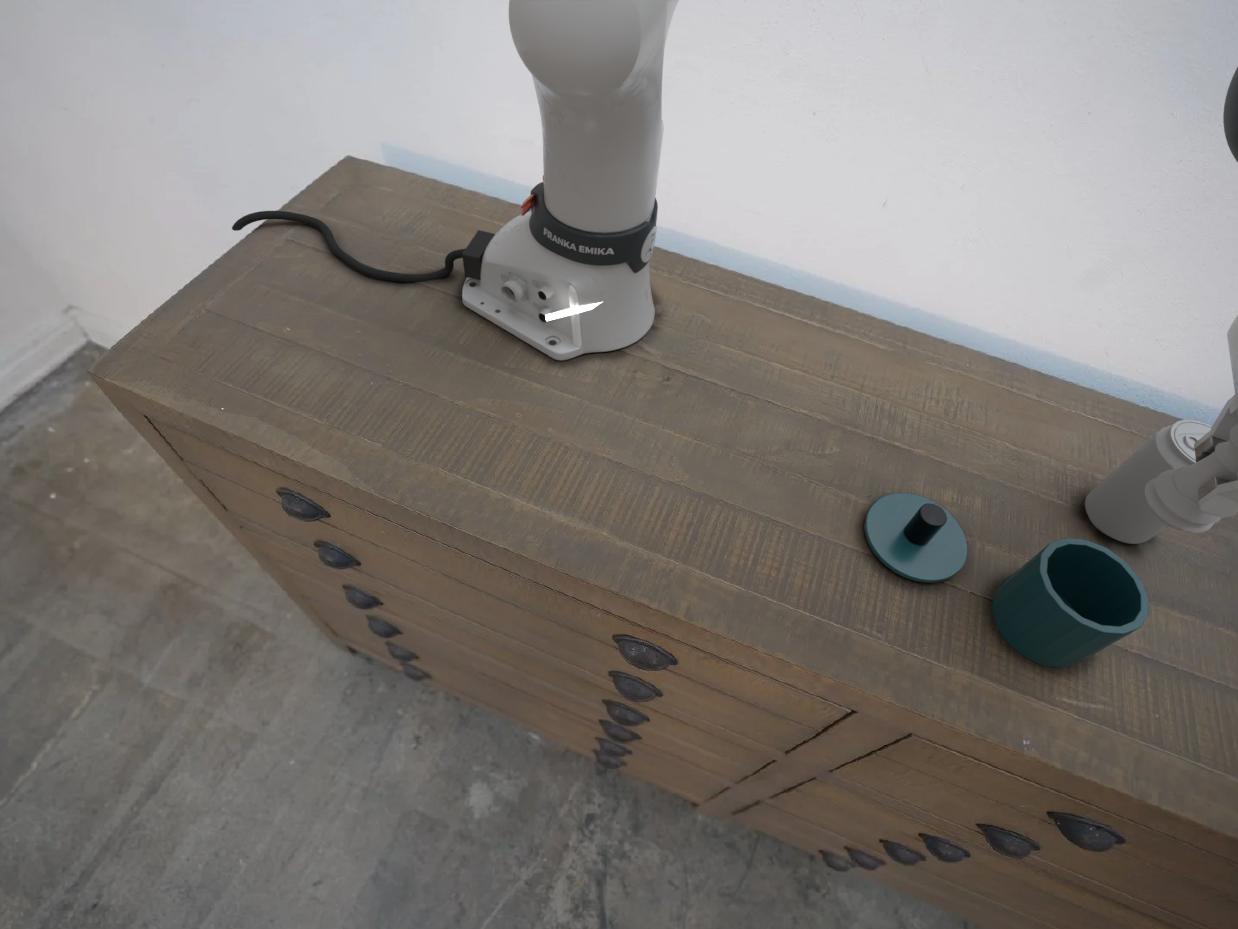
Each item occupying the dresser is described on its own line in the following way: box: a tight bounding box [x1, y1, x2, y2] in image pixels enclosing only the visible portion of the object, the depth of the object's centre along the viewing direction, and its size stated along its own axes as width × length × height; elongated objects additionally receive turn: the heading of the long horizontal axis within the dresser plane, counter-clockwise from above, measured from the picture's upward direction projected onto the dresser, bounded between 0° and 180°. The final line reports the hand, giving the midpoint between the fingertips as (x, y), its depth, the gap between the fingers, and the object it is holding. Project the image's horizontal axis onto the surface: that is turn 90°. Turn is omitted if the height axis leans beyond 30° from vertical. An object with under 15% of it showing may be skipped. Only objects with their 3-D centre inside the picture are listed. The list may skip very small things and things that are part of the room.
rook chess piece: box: [1145, 425, 1238, 533], centre depth 43 cm, size 4×4×8 cm
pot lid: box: [864, 492, 968, 584], centre depth 61 cm, size 9×9×5 cm
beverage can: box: [1084, 419, 1213, 545], centre depth 62 cm, size 6×6×12 cm
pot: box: [991, 537, 1150, 669], centre depth 56 cm, size 8×8×8 cm
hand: (1207, 482), depth 44 cm, fingers closed on rook chess piece, 3 cm apart
